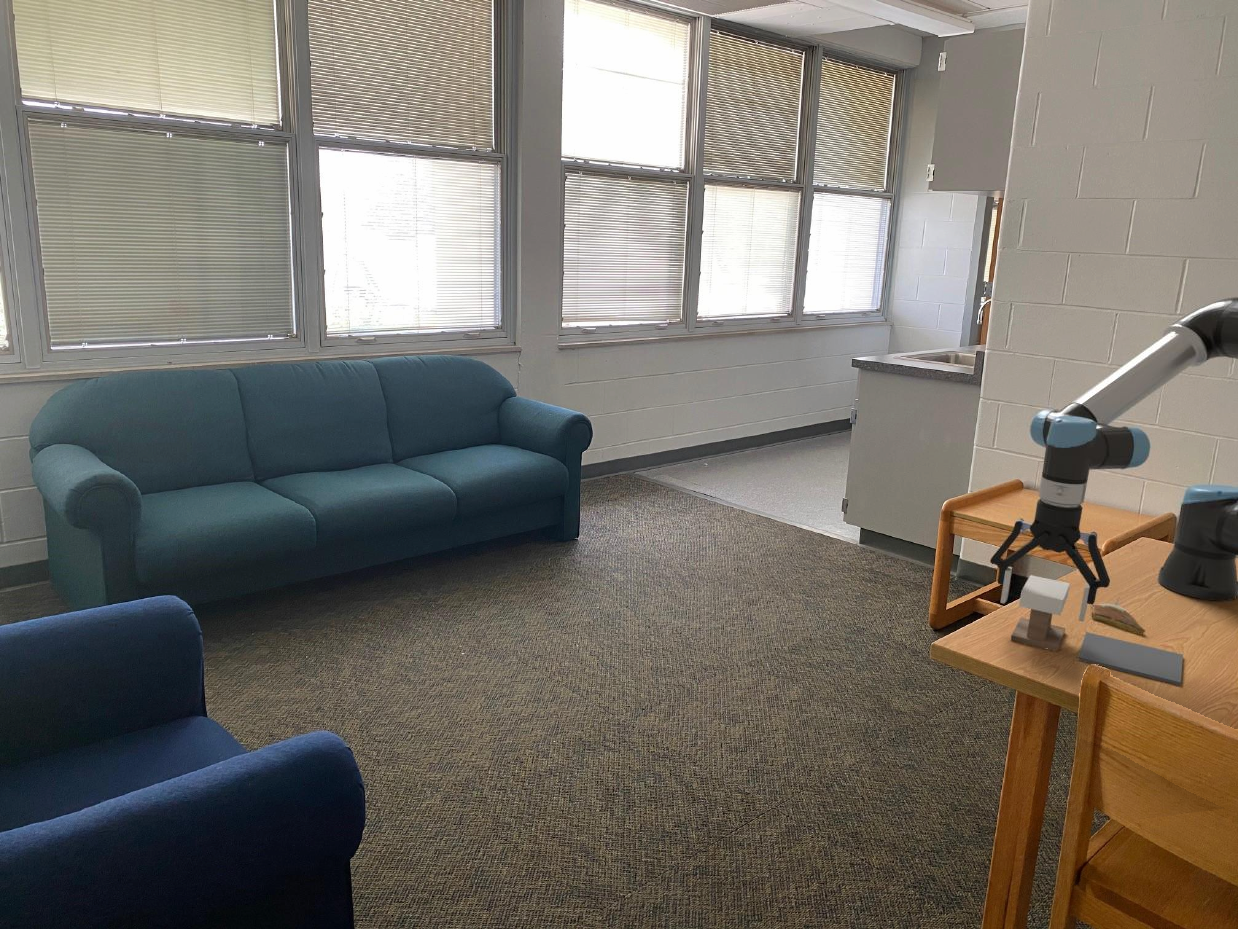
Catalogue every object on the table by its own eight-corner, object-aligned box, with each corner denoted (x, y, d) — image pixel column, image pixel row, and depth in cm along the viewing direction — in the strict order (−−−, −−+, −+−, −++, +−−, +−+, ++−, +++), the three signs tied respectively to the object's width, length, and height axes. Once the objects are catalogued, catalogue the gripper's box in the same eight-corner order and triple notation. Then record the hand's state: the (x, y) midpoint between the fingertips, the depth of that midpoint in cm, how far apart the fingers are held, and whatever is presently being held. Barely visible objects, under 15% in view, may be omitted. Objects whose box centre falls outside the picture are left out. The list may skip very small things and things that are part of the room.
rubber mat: (1077, 660, 166) (1077, 657, 166) (1085, 634, 177) (1086, 632, 177) (1180, 685, 158) (1180, 682, 158) (1182, 657, 169) (1183, 654, 169)
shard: (1144, 638, 178) (1146, 629, 177) (1102, 634, 179) (1103, 625, 178) (1123, 615, 188) (1125, 607, 188) (1083, 611, 189) (1085, 603, 189)
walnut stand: (1020, 622, 182) (1025, 589, 180) (1064, 632, 178) (1070, 598, 176) (1010, 640, 173) (1016, 605, 172) (1057, 651, 169) (1063, 616, 168)
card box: (1028, 589, 180) (1030, 575, 179) (1067, 598, 176) (1070, 583, 175) (1019, 606, 171) (1021, 591, 171) (1060, 615, 168) (1062, 600, 167)
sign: (1136, 595, 198) (1124, 615, 186) (1135, 598, 198) (1123, 619, 186) (1109, 588, 201) (1096, 608, 189) (1108, 592, 201) (1095, 612, 189)
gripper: (984, 493, 172) (968, 599, 177) (1136, 520, 159) (1114, 633, 165) (992, 485, 178) (977, 588, 184) (1139, 510, 166) (1118, 619, 171)
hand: (1042, 609), depth 174 cm, fingers open, 13 cm apart
